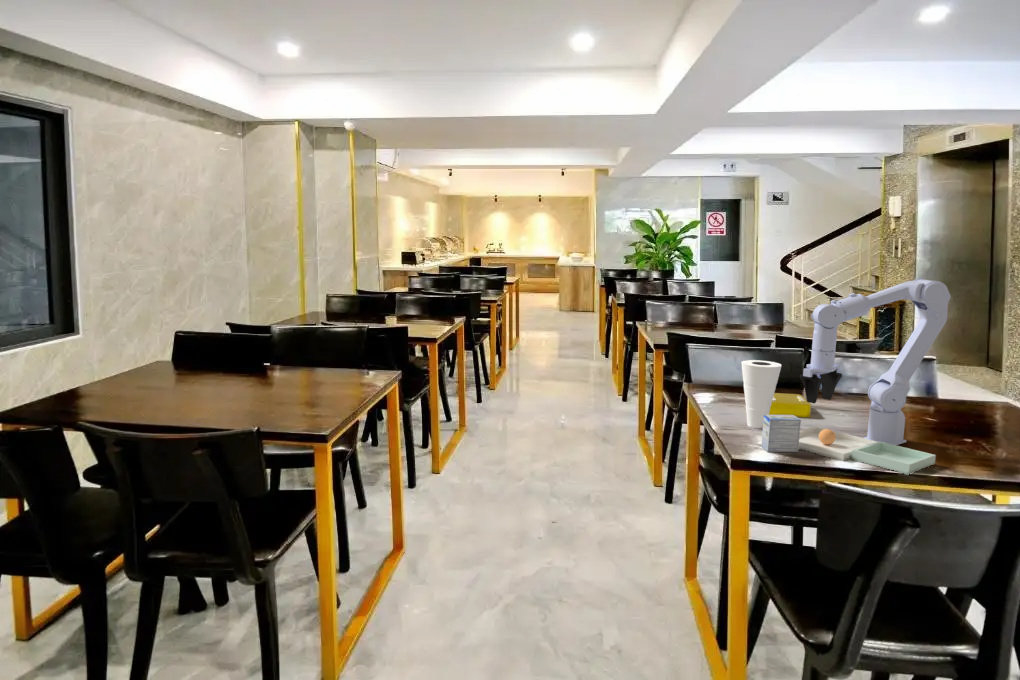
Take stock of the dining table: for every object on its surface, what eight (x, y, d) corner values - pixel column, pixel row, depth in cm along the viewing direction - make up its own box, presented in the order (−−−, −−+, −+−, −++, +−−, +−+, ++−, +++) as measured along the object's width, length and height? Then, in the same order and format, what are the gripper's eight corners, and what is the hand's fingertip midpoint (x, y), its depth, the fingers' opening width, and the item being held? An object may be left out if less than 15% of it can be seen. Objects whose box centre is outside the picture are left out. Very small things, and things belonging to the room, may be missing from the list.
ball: (823, 441, 193) (825, 426, 192) (838, 445, 189) (839, 430, 189) (814, 443, 190) (816, 428, 190) (829, 447, 187) (830, 432, 187)
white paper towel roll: (779, 432, 202) (784, 368, 200) (738, 429, 204) (743, 365, 202) (773, 422, 213) (778, 361, 210) (735, 420, 215) (739, 359, 212)
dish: (878, 450, 187) (879, 441, 187) (934, 465, 177) (935, 454, 177) (851, 459, 179) (852, 449, 179) (908, 475, 169) (909, 464, 168)
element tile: (811, 419, 220) (812, 403, 219) (759, 416, 222) (760, 400, 221) (800, 407, 234) (802, 392, 234) (751, 404, 237) (752, 390, 236)
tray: (814, 432, 203) (815, 426, 203) (880, 449, 189) (880, 442, 189) (776, 442, 192) (777, 436, 192) (843, 461, 178) (843, 453, 178)
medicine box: (791, 447, 188) (794, 414, 187) (798, 453, 184) (801, 419, 183) (760, 447, 188) (763, 414, 187) (767, 452, 184) (770, 418, 183)
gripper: (823, 345, 201) (819, 394, 203) (794, 350, 192) (790, 401, 194) (848, 349, 196) (844, 399, 198) (819, 354, 187) (815, 406, 189)
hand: (819, 400), depth 196 cm, fingers open, 7 cm apart
